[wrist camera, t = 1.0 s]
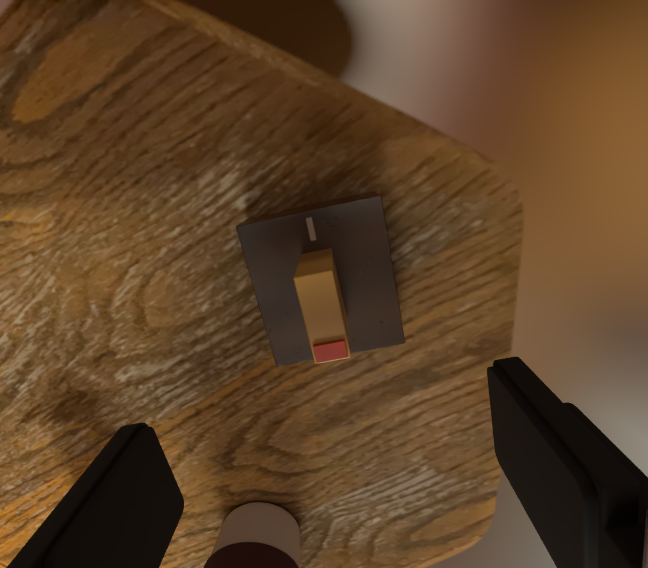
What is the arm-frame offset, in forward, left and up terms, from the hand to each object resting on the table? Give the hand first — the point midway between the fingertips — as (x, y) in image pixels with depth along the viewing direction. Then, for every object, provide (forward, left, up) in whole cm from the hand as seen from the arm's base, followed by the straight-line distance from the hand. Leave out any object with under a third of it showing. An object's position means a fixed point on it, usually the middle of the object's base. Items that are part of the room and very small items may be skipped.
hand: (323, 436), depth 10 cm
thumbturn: (0, 0, -14) cm, 14 cm away
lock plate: (0, 0, -17) cm, 17 cm away
